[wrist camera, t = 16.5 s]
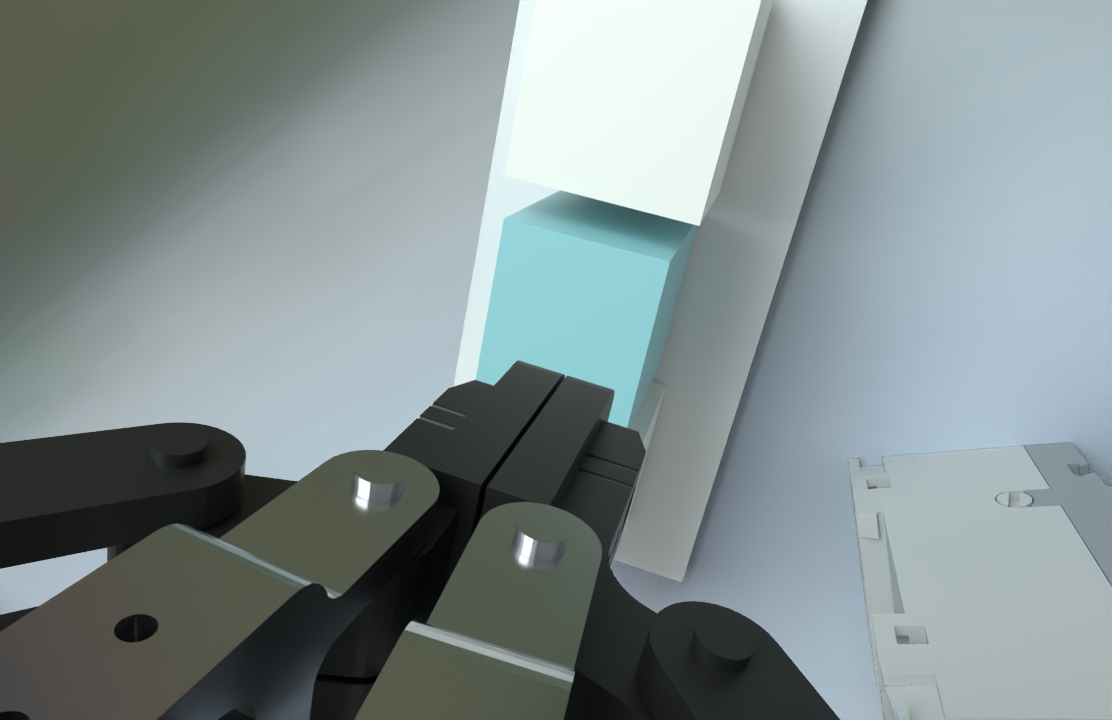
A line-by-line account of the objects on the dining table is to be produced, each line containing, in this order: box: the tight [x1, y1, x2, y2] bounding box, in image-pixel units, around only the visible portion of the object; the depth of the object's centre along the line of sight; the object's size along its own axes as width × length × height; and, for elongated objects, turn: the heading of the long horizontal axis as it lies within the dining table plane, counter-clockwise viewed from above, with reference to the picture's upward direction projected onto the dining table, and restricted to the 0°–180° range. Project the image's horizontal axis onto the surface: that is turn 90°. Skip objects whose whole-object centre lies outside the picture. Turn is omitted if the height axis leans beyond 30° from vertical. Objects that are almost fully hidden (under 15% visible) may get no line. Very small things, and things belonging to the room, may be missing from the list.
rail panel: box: [453, 0, 867, 583], centre depth 30 cm, size 26×12×9 cm, turn 168°
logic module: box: [476, 190, 697, 429], centre depth 29 cm, size 6×5×8 cm
